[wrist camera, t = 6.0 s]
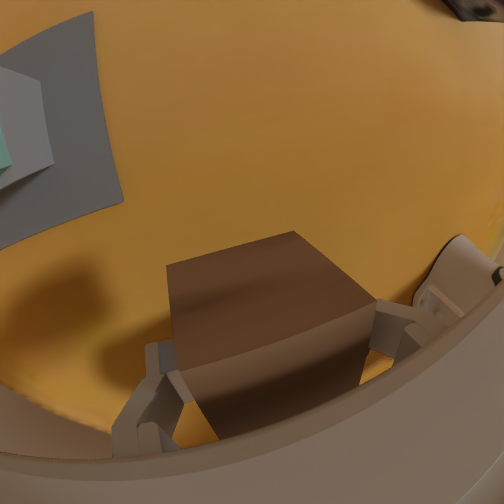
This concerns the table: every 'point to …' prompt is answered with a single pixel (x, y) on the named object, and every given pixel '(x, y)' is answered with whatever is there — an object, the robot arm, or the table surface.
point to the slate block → (23, 126)
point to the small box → (477, 10)
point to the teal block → (4, 155)
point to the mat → (62, 134)
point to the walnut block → (267, 331)
